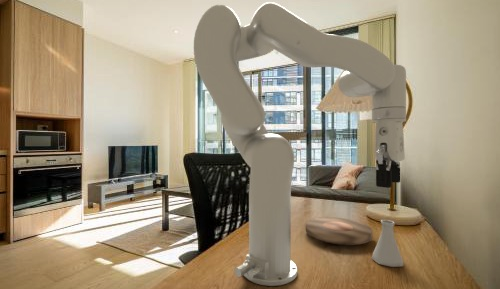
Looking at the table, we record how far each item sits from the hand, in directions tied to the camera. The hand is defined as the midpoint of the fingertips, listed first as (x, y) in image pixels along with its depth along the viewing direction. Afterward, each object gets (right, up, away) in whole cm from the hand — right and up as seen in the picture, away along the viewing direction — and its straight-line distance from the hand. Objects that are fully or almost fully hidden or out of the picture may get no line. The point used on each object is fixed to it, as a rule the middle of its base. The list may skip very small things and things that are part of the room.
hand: (388, 184), depth 64 cm
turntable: (-7, -18, +17) cm, 25 cm away
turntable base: (-7, -19, +17) cm, 26 cm away
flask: (0, -20, 0) cm, 20 cm away
